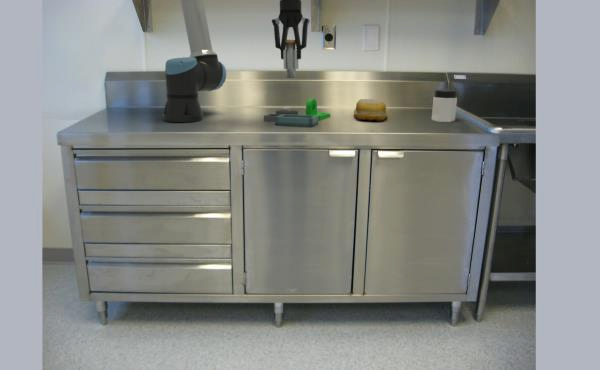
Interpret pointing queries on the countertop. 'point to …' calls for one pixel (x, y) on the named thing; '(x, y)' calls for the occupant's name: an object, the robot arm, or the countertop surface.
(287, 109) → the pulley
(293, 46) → the pin
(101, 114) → the countertop surface
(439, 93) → the jar
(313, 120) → the tray
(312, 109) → the mechanical part
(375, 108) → the bread
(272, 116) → the grey metal square frame
